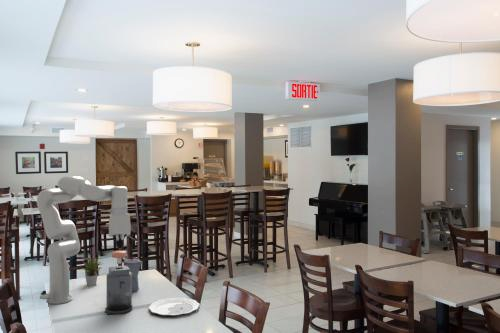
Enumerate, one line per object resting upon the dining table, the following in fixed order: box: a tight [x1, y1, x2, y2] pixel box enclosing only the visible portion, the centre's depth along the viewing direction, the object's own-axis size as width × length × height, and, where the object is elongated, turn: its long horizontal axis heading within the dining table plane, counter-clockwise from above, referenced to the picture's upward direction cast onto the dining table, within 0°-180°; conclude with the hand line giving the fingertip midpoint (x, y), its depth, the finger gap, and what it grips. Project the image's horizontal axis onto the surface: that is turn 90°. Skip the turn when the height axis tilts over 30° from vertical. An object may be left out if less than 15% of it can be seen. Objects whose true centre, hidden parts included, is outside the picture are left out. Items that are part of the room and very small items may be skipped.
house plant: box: [81, 257, 103, 287], centre depth 249 cm, size 14×14×16 cm
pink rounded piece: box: [111, 250, 128, 265], centre depth 208 cm, size 7×7×6 cm
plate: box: [148, 297, 201, 317], centre depth 211 cm, size 25×25×2 cm
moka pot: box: [118, 255, 143, 294], centre depth 240 cm, size 10×15×20 cm, turn 78°
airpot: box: [105, 265, 134, 316], centre depth 208 cm, size 13×19×21 cm
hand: (119, 247), depth 208 cm, fingers closed
